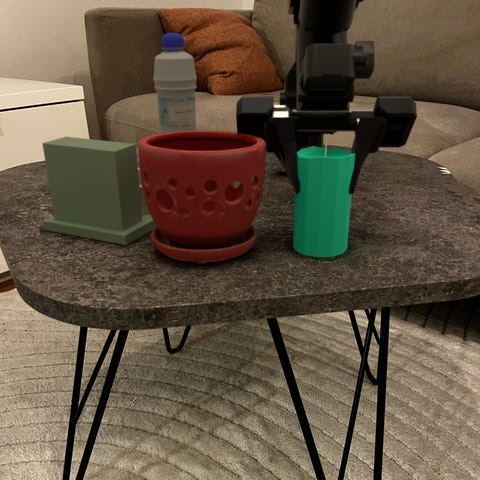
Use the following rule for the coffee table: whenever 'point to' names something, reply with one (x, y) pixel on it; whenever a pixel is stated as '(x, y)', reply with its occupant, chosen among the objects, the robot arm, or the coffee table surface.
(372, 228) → the coffee table surface
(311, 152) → the candle
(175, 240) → the flower pot
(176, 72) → the bottle
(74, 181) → the green tombstone shape
